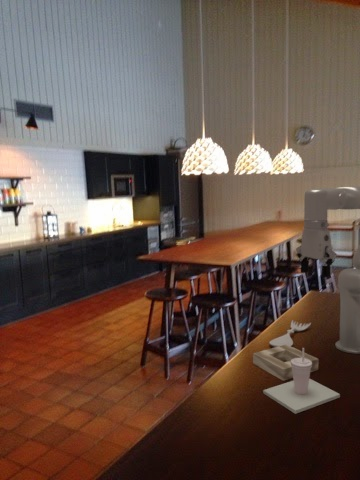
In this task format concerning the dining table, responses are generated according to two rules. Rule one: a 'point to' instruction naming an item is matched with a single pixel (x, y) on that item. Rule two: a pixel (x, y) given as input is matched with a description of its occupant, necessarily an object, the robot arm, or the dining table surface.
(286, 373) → the wooden square frame
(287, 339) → the white long flared piece
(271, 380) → the dining table surface
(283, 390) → the serving board
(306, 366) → the smoothie
